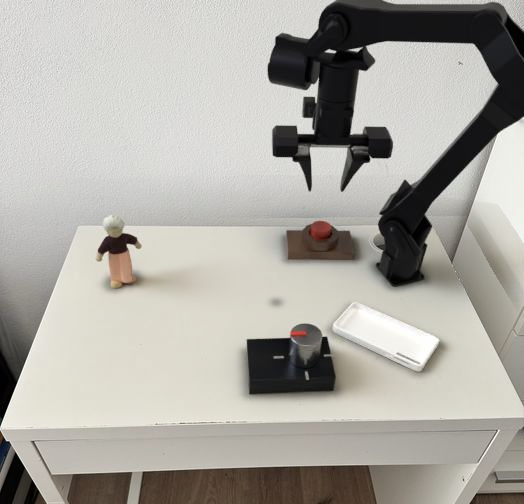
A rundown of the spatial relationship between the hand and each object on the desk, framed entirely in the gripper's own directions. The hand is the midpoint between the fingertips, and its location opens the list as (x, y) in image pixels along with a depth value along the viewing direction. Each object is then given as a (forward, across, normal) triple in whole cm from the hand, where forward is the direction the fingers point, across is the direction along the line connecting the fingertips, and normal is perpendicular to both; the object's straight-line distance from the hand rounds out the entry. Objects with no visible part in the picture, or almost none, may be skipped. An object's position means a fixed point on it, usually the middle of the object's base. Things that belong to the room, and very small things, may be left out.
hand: (325, 190), depth 91 cm
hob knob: (+9, +5, +30) cm, 32 cm away
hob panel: (+12, +7, +30) cm, 34 cm away
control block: (+12, 0, 0) cm, 12 cm away
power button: (+9, 0, 0) cm, 9 cm away
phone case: (+12, -8, +24) cm, 28 cm away
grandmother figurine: (+12, +34, +10) cm, 38 cm away
